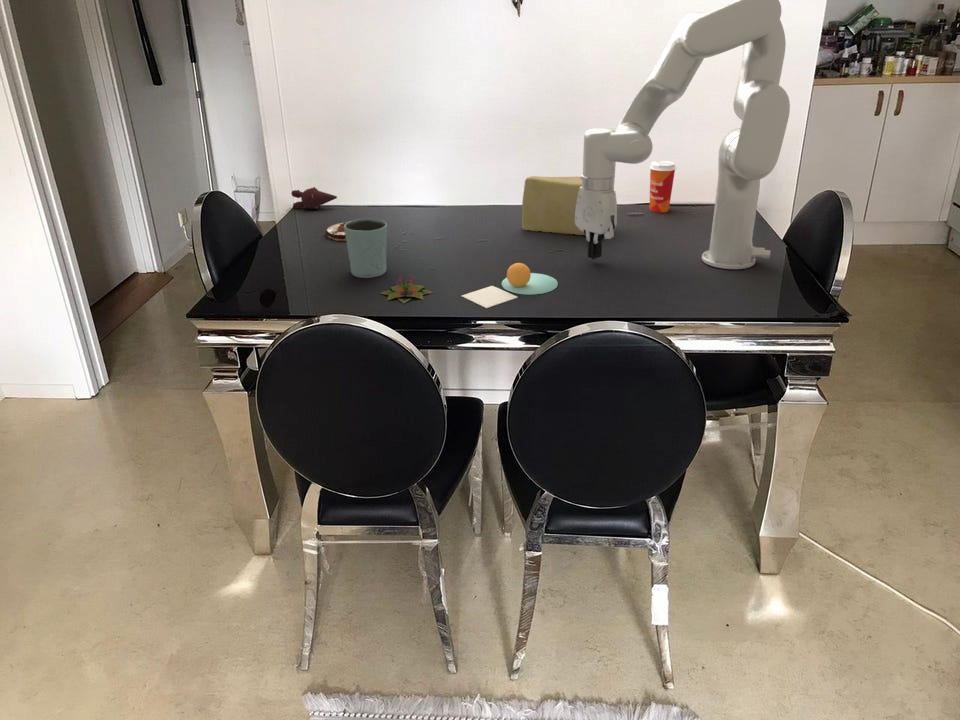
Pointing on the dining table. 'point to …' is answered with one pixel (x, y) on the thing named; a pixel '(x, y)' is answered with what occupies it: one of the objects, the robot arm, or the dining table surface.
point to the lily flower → (397, 290)
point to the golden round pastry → (337, 232)
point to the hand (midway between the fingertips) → (594, 256)
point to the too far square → (489, 296)
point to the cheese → (550, 204)
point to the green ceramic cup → (366, 247)
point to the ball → (518, 274)
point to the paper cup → (661, 185)
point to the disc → (533, 285)
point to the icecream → (311, 198)
